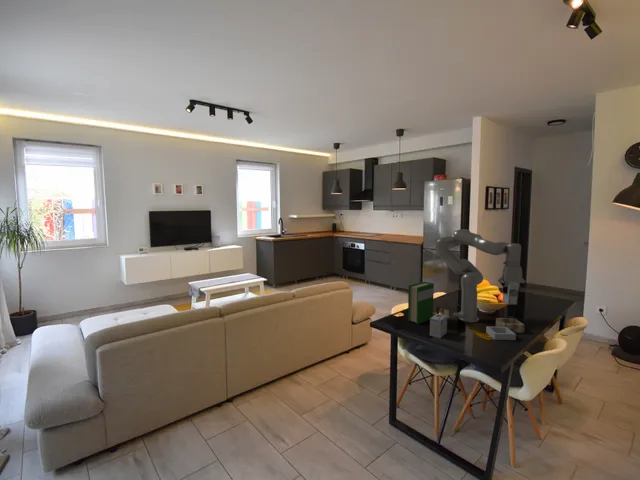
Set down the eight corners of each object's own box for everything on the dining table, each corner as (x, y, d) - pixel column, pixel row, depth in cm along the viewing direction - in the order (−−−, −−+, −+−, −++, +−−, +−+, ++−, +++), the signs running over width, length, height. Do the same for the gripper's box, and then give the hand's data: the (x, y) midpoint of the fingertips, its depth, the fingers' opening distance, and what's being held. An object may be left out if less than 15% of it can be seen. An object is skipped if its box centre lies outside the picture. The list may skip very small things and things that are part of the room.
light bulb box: (435, 330, 203) (436, 313, 202) (447, 332, 199) (447, 315, 198) (429, 335, 195) (429, 317, 194) (440, 338, 191) (441, 320, 190)
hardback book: (417, 324, 214) (418, 287, 212) (407, 321, 220) (408, 285, 217) (432, 318, 225) (433, 283, 223) (423, 315, 231) (424, 281, 228)
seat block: (494, 339, 188) (494, 333, 188) (486, 332, 200) (486, 326, 199) (515, 340, 187) (515, 334, 187) (506, 332, 199) (506, 326, 198)
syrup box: (511, 302, 206) (513, 279, 204) (517, 305, 200) (519, 281, 199) (502, 302, 206) (504, 279, 204) (508, 305, 200) (509, 281, 198)
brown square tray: (504, 332, 199) (504, 324, 199) (495, 325, 210) (496, 317, 210) (524, 332, 198) (524, 324, 198) (514, 326, 210) (515, 318, 209)
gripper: (500, 264, 197) (498, 294, 199) (531, 265, 196) (528, 295, 198) (495, 262, 205) (493, 291, 207) (524, 263, 203) (522, 291, 205)
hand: (510, 292), depth 202 cm, fingers closed on syrup box, 6 cm apart
